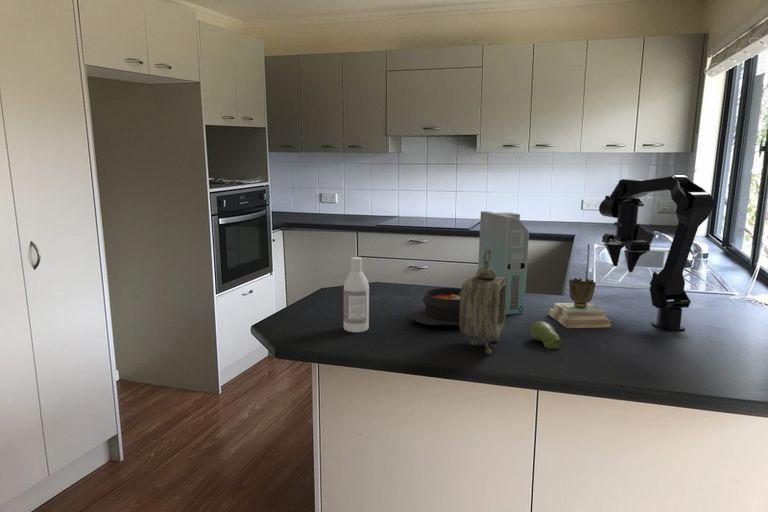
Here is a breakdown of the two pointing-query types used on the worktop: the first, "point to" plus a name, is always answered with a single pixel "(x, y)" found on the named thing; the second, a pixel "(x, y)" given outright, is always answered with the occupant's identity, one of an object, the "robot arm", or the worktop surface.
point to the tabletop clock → (483, 304)
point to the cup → (581, 291)
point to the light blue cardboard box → (506, 254)
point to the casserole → (440, 307)
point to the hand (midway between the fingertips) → (622, 269)
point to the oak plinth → (579, 316)
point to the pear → (545, 335)
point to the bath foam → (356, 299)
